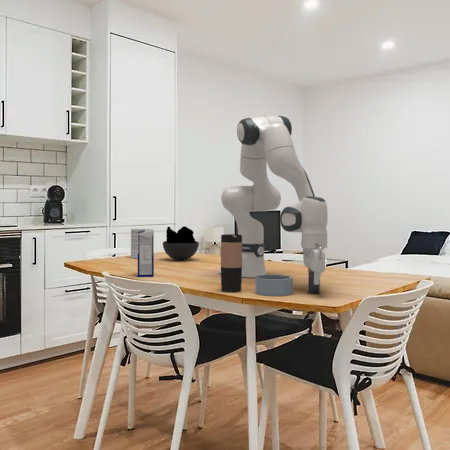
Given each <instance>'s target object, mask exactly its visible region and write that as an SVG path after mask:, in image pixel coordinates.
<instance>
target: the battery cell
mask: <svg viewBox="0 0 450 450" xmlns="http://www.w3.org/2000/svg"><path fill="white" fill-rule="evenodd" d="M307 274H308V276H307V277H308V282H307V283H308V284H307V287H308V289H307V290H308V291H307V292H308V294H309V293H310V295H320V294H321V291H320V290H321V281H320V282H319V284H318V285H315V284H314V283H313V282H314V281H313V280H314V271H312V270H311V269H310V268H309V270H308V269H307Z"/></svg>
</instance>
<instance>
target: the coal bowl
mask: <svg viewBox="0 0 450 450" xmlns="http://www.w3.org/2000/svg"><path fill="white" fill-rule="evenodd" d="M165 235H166V240H165V241H163V242H162V248H163V250H164V252H165V254H166V255H167V256H168V257H170V259H173V260H175V261H180V260H181V261H186V260H189V259H191V258H192V257H193V256H195V255H196V253H197V252H198V250H199V247H200V242H198V240H196V239H195V237H194V231H193V230H192V229H190V228H188V227H187V226H185V225H184V226H182V227H181V228H180V229H178V230H177V232H176V231H175V230H173V229H171V227H170V226H167V228H166V234H165Z"/></svg>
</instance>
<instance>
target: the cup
mask: <svg viewBox="0 0 450 450" xmlns="http://www.w3.org/2000/svg"><path fill="white" fill-rule="evenodd" d="M254 278H255V279H254V280H255V287H254V289H255V290H254V291H255V294H256V295H261V296H265V297H285V296H290V295H293V294H294V293H293V292H294V291H293V289H294V288H293V284H294V282H293V281H294V279H293V278H294V277H292V276H291V275H284V274H267V275H258V276H255V277H254Z"/></svg>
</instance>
